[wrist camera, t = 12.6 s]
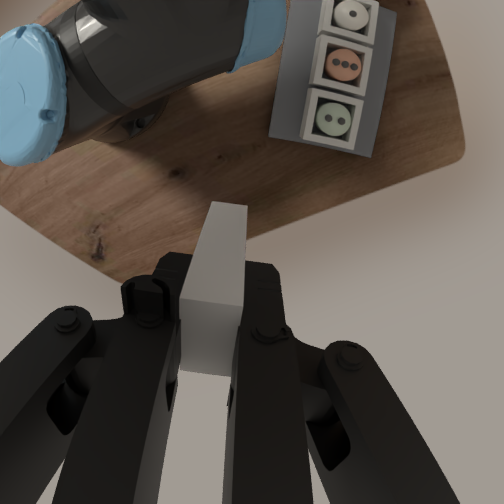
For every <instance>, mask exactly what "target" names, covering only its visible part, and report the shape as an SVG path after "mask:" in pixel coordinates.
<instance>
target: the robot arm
mask: <svg viewBox="0 0 504 504" xmlns="http://www.w3.org/2000/svg"><path fill="white" fill-rule="evenodd" d="M285 30H286V0H81V1H79V2H78V3H76V4H75V5H73V6H72V7H70V8H69V9H68V10H66V11H65V12H63V13H62V14H60V15H59V16H58V17H56V18H55V19H54V20H52V21H51V22H50V23H48V24H47V25H45V26H41V25H39V24H29V25H25V26H20V27H16V28H14V29H12V30H10V31H9V32H7V33H5V34H4V35H3V36H2V37H1V38H0V159H1V161H2V162H3V163H5V164H7V165H10V166H24V165H27V164H30V163H33V162H34V163H38V162H42V161H44V160H46V159H47V158H48V157H49V156H50V155H52V154H54V153H57V152H59V151H61V150H64V149H66V148H68V147H71V146H73V145H76V144H79V143H81V142H84V141H87V140H89V139H93V140H96V141H100V142H106V143H114V142H121V141H125V140H128V139H130V138H133V137H135V136H137V135H139V134H141V133H143V132H144V131H146V130H147V129H148V128H149V127H151V126H152V125H153V124H154V123H155V122H156V120H157V119H158V118H159V116H160V115H161V113H162V112H163V110H164V108H165V106H166V104H167V101H168V98H169V94H170V93H173V92H175V91H177V90H180V89H182V88H184V87H187V86H189V85H192V84H194V83H197V82H199V81H202V80H205V79H207V78H210V77H213V76H215V75H218V74H221V73H224V72H226V73H233V72H235V71H236V70H238V69H239V68H240V67H242V66H245V65H248V64H250V63H253V62H256V61H259V60H262V59H265V58H268V57H269V56H271V55H273V54H274V53H275V51H276V50H277V49H278V48H279V47H280V45H281V44H282V41H283V39H284V35H285ZM247 207H248V206H246V205H238V204H231V203H223V202H215V201H212V203H211V206H210V208H209V211H208V214H207V217H206V220H205V223H204V225H203V228H202V231H201V234H200V237H199V240H198V243H197V246H196V249H195V252H194V255H191V254H183V253H176V252H169V253H167V254H166V255H164V256H163V257H162V258H160V260H159V262H158V264H157V266H156V269H155V270H154V272H153V274H152V275H140V276H135V277H133V278H131V279H129V280H127V281H125V282H124V283H123V285H122V286H121V294H122V303H123V310H124V315H123V317H121V318H118V319H111V320H94V321H93V320H92V317H91V315H90V313H89V312H88V311H87V310H85V309H84V308H82V307H78V306H64V307H61V308H58V309H56V310H55V311H53V312H52V313H50V314H49V315H48V316H47V317H46V318H45V319H44V320H43V321H42V322H41V323H39V324H38V325H37V326H36V327H35V328H34V329H33V330H32V331H31V332H30V333H29V334H28V335H27V336H26V337H25V338H24V339H23V340H22V341H21V342H20V343H19V344H18V345H17V346H16V347H15V348H14V349H13V350H12V351H11V352H10V353H9V354H8V355H7V356H6V357H5V358H4V359H3V360H2V361H1V362H0V504H36V502H37V501H38V499H39V498H40V496H41V495H42V493H43V491H44V490H45V488H46V487H47V485H48V484H49V482H50V480H51V479H52V477H53V476H54V474H55V473H56V471H57V470H58V468H59V466H60V465H61V463H62V462H63V460H64V459H65V461H64V464H63V467H62V470H61V473H60V477H59V480H58V483H57V487H56V491H55V494H54V497H53V501H52V504H157V500H158V493H159V487H160V481H161V474H162V468H163V462H164V456H165V450H166V444H167V439H168V434H169V428H170V423H171V417H172V412H173V407H174V402H175V396H176V392H177V386H178V380H177V374H178V369H179V365H180V370H184V371H190V372H197V373H205V374H212V375H221V376H229V377H231V384H230V390H229V396H228V402H227V406H228V416H227V431H226V448H225V463H224V480H223V498H222V504H313V493H312V483H311V473H310V463H309V454H308V449H309V452H310V454H311V457H312V459H313V462H314V464H315V467H316V469H317V472H318V474H319V477H320V479H321V482H322V484H323V487H324V489H325V492H326V494H327V497H328V499H329V502H330V504H460V502H459V501H458V499H457V497H456V495H455V493H454V491H453V490H452V488H451V486H450V484H449V482H448V481H447V479H446V477H445V476H444V473H443V472H442V470H441V468H440V467H439V465H438V463H437V461H436V459H435V458H434V456H433V454H432V452H431V451H430V449H429V447H428V446H427V444H426V442H425V441H424V439H423V437H422V435H421V434H420V432H419V431H418V429H417V427H416V425H415V424H414V422H413V420H412V419H411V417H410V415H409V414H408V412H407V411H406V409H405V407H404V406H403V404H402V402H401V401H400V400H399V398H398V397H397V394H396V393H395V391H394V390H393V388H392V386H391V385H390V383H389V382H388V380H387V379H386V377H385V375H384V374H383V372H382V371H381V369H380V368H379V366H378V365H377V363H376V361H375V360H374V358H373V357H372V355H371V354H370V353H369V352H368V351H367V350H366V349H365V348H364V347H362V346H361V345H359V344H357V343H354V342H350V341H336V342H333V343H331V344H330V345H329V346H328V347H327V348H326V349H325V350H323V349H320V348H317V347H314V346H310V345H308V344H305V343H303V342H301V341H300V340H298V339H297V338H295V337H294V335H293V333H292V330H291V328H290V327H289V326H287V325H286V322H285V314H284V306H283V298H282V293H281V291H282V290H281V285H280V275H279V272H278V271H277V270H276V268H275V267H274V266H273V265H272V264H268V263H260V262H253V261H245V252H246V229H247Z"/></svg>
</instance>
